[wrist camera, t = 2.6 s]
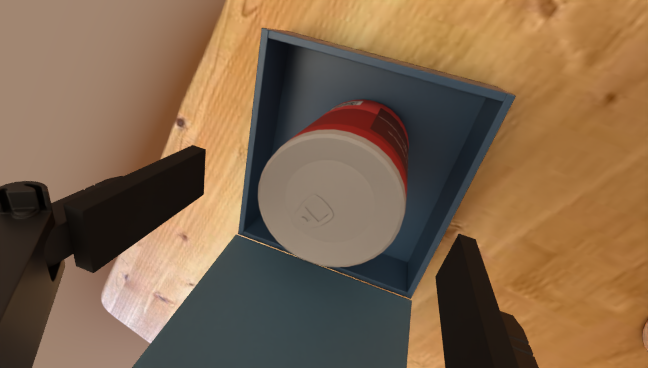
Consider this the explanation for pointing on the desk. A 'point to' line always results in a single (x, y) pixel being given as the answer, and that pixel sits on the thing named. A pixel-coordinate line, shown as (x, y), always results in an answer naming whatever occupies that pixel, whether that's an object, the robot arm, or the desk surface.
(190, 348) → the lunchbox lid
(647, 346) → the teacup with lid
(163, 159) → the robot arm
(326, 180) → the canned food
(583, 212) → the desk surface
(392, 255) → the box
